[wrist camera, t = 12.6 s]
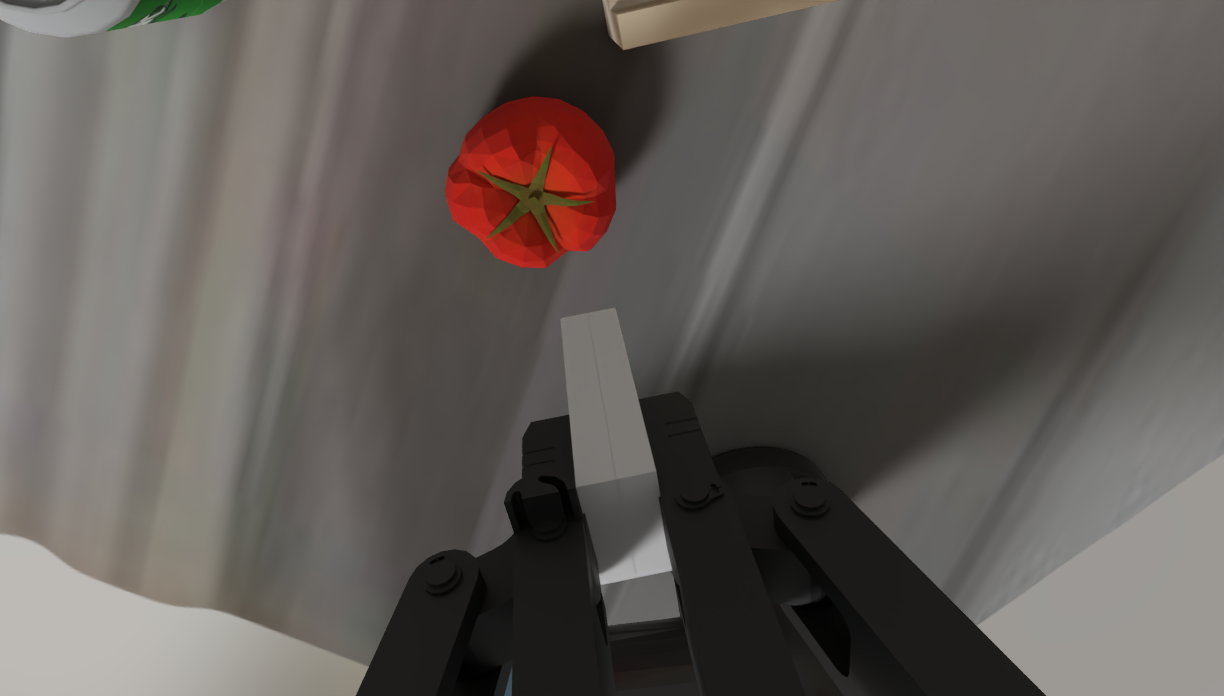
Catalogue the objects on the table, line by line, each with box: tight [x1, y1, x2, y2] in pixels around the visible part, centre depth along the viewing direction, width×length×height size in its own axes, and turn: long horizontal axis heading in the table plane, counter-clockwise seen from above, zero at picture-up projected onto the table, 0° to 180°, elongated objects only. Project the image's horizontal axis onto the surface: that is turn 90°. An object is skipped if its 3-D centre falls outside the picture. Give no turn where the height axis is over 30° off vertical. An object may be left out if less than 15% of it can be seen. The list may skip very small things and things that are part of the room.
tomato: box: [445, 96, 616, 268], centre depth 36 cm, size 9×9×8 cm
